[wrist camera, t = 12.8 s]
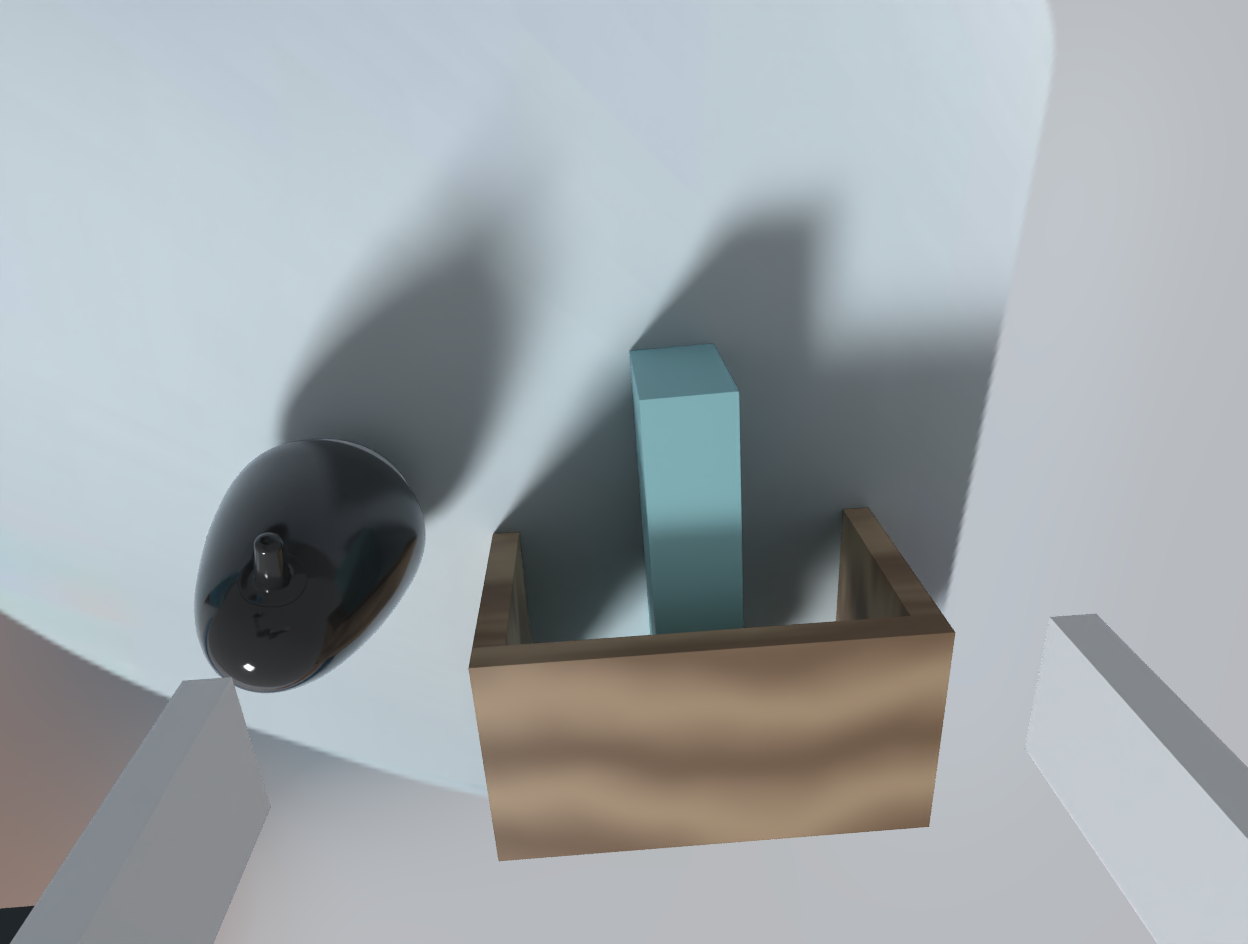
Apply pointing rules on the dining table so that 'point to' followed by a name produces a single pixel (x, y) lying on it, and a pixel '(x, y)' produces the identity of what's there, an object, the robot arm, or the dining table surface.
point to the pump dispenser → (304, 562)
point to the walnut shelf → (713, 718)
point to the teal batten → (689, 487)
